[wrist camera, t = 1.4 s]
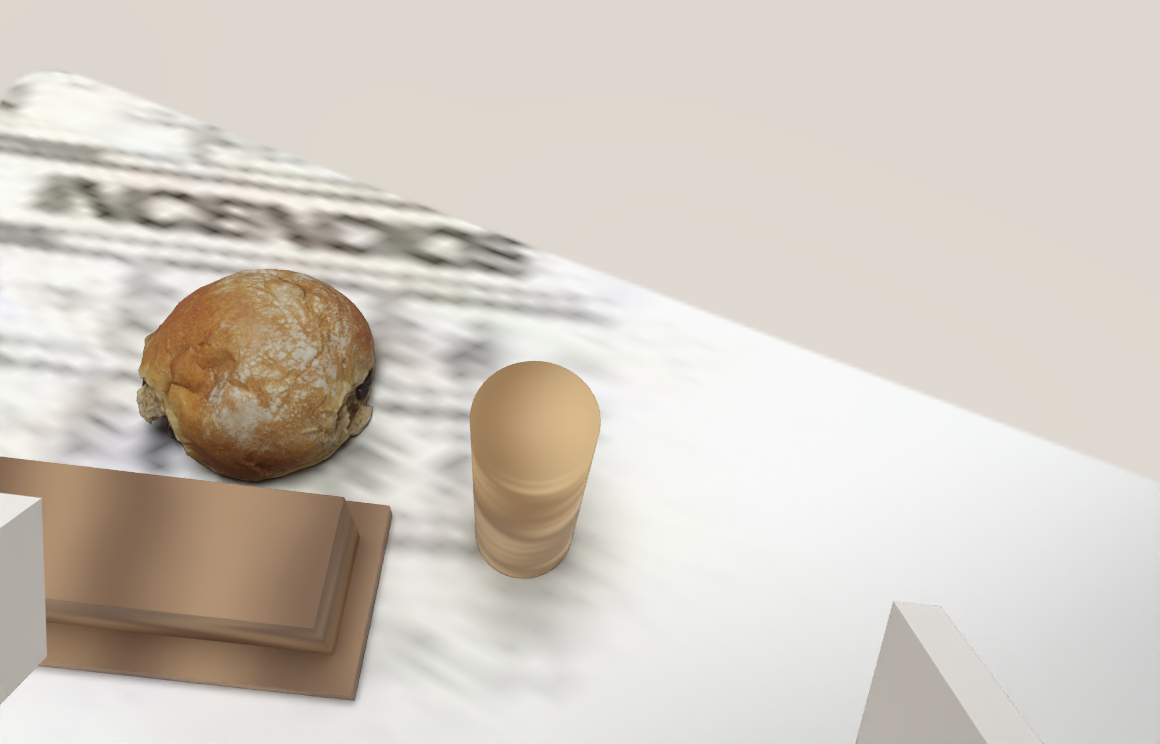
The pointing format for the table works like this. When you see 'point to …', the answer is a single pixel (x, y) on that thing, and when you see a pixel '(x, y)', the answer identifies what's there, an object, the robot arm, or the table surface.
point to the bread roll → (260, 373)
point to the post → (530, 464)
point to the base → (204, 578)
